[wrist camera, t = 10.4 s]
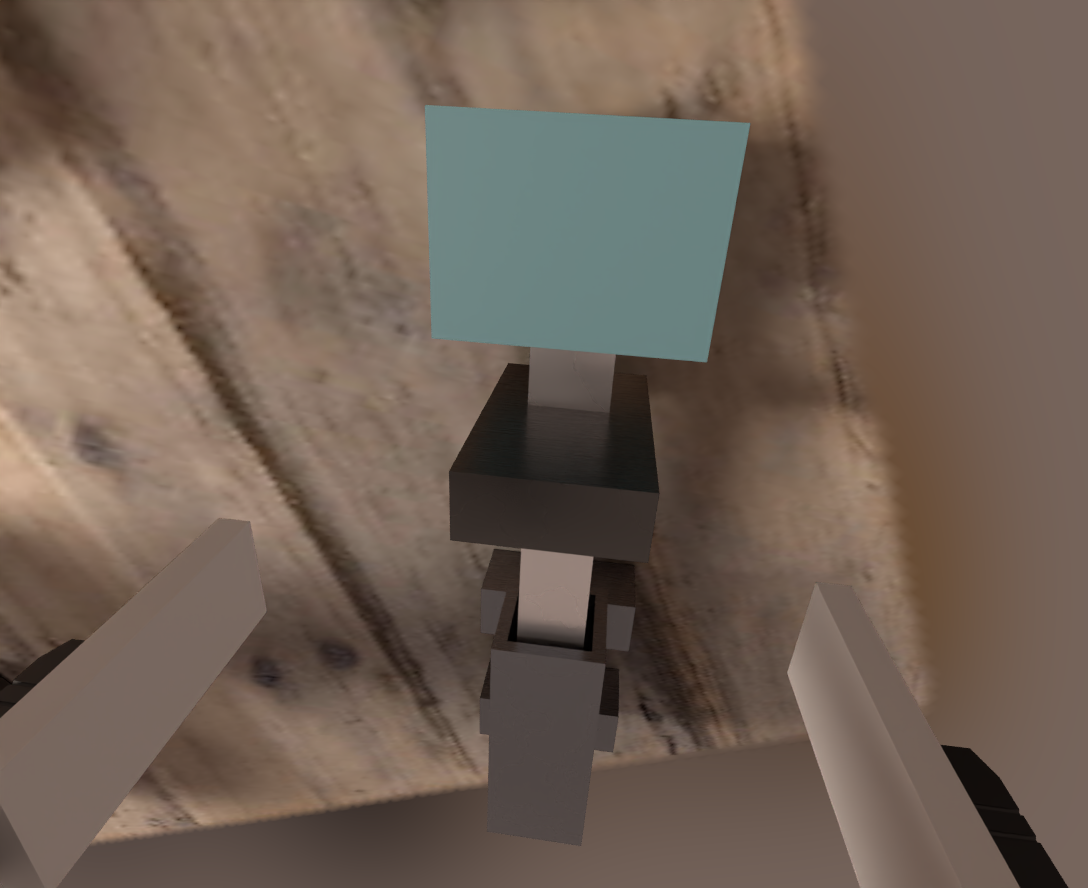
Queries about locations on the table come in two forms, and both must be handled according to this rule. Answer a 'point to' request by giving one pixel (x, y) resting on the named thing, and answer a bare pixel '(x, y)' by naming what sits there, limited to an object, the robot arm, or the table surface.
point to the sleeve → (549, 704)
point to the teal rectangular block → (579, 229)
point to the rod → (559, 482)
